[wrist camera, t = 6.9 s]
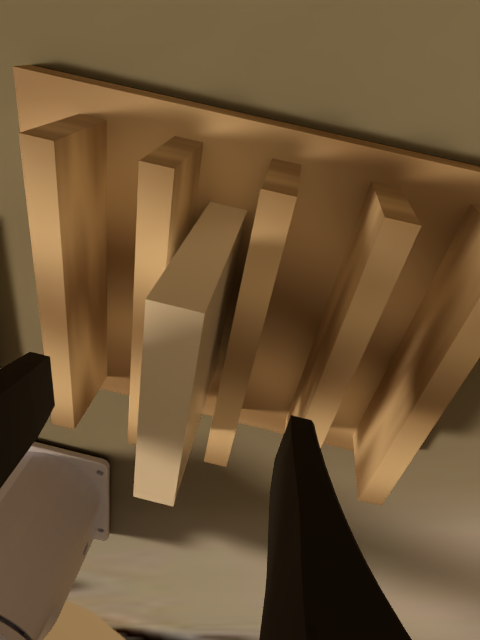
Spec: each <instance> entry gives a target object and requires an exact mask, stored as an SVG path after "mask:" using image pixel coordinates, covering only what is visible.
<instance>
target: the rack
mask: <svg viewBox="0 0 480 640" xmlns="http://www.w3.org/2000/svg"><path fill="white" fill-rule="evenodd" d="M13 71H14V80H15V89H16V98H17V107H18V115H19V124H20V133H19V140H20V149H21V158H22V166H23V175H24V184H25V192H26V201H27V210H28V218H29V227H30V236H31V244H32V253H33V262H34V270H35V279H36V288H37V296H38V305H39V314H40V322H41V331H42V340H43V348H44V355H45V356H49V357H50V361H51V371H52V381H53V391H54V401H55V406H54V408H53V410H52V412H51V418H52V424H55V425H59V426H63V427H67V428H71V429H75V427H76V426H77V424H78V423H79V421H80V419H81V418H82V416H83V415H84V413H85V411H86V410H87V408H88V407H89V405H90V403H91V402H92V400H93V399H94V397H95V395H96V394H97V392H98V391H99V389H104V390H108V391H112V392H116V393H120V394H124V395H129V421H128V443H131V444H136V443H137V427H138V411H139V395H140V379H141V363H142V346H143V330H144V314H145V299H146V298H147V296H148V295H149V293H150V292H151V290H152V289H153V287H154V286H155V284H156V283H157V281H158V280H159V278H160V277H161V275H162V273H163V272H164V270H165V269H166V267H167V266H168V264H169V263H170V261H171V260H172V258H173V257H174V255H175V254H176V252H177V251H178V249H179V248H180V246H181V245H182V243H183V242H184V240H185V239H186V237H187V236H188V234H189V233H190V231H191V230H192V228H193V227H194V225H195V224H196V222H197V221H198V219H199V218H200V216H201V215H202V213H203V212H204V210H205V209H206V207H207V206H208V204H209V203H210V202H214V203H218V204H222V205H226V206H231V207H235V208H239V209H243V210H247V215H246V220H245V225H244V230H243V235H242V240H241V245H240V250H239V255H238V260H237V265H236V270H235V275H234V280H233V285H232V290H231V295H230V300H229V305H228V310H227V315H226V320H225V325H224V330H223V335H222V340H221V345H220V350H219V355H218V360H217V365H216V370H215V374H214V377H213V380H212V384H211V387H210V390H209V393H208V397H207V400H206V403H205V406H204V409H203V413H202V414H206V415H210V416H213V420H212V425H211V429H210V434H209V439H208V444H207V448H206V453H205V458H204V462H208V463H212V464H216V465H220V466H224V467H226V466H227V462H228V459H229V455H230V451H231V447H232V443H233V440H234V436H235V432H236V428H237V424H238V423H243V424H247V425H251V426H255V427H259V428H263V429H267V430H271V431H275V432H279V433H283V434H284V433H285V430H286V427H287V425H288V422H289V419H290V416H291V415H293V416H297V417H301V418H305V419H309V420H312V421H313V423H314V425H315V430H316V434H317V438H318V442H319V445H320V449H321V446H322V444H323V443H324V444H328V445H332V446H336V447H340V448H344V449H348V450H352V451H354V456H355V468H356V479H357V491H358V500H361V501H365V502H369V503H373V504H377V505H382V504H383V502H384V501H385V499H386V498H387V496H388V495H389V493H390V492H391V490H392V489H393V487H394V486H395V484H396V483H397V481H398V480H399V478H400V477H401V475H402V474H403V472H404V471H405V469H406V468H407V466H408V465H409V463H410V462H411V460H412V459H413V457H414V456H415V454H416V453H417V451H418V450H419V448H420V447H421V445H422V444H423V442H424V441H425V439H426V438H427V436H428V435H429V433H430V431H431V430H432V428H433V427H434V425H435V424H436V422H437V421H438V419H439V418H440V416H441V415H442V413H443V412H444V410H445V409H446V407H447V406H448V404H449V403H450V401H451V400H452V398H453V397H454V395H455V394H456V392H457V391H458V389H459V388H460V386H461V385H462V383H463V382H464V380H465V379H466V377H467V376H468V374H469V373H470V371H471V370H472V368H473V367H474V365H475V364H476V362H477V361H478V359H479V358H480V166H475V165H471V164H466V163H462V162H457V161H453V160H449V159H444V158H440V157H435V156H431V155H427V154H422V153H418V152H413V151H409V150H404V149H400V148H396V147H391V146H387V145H382V144H378V143H373V142H369V141H365V140H360V139H356V138H351V137H347V136H343V135H338V134H334V133H329V132H325V131H320V130H316V129H312V128H307V127H303V126H298V125H294V124H289V123H285V122H281V121H276V120H272V119H267V118H263V117H259V116H254V115H250V114H245V113H241V112H236V111H232V110H228V109H223V108H219V107H214V106H210V105H205V104H201V103H197V102H192V101H188V100H183V99H179V98H174V97H170V96H166V95H161V94H157V93H152V92H148V91H144V90H139V89H135V88H130V87H126V86H121V85H117V84H113V83H108V82H104V81H99V80H95V79H90V78H86V77H82V76H77V75H73V74H68V73H64V72H60V71H55V70H51V69H46V68H42V67H37V66H33V65H23V66H13Z"/></svg>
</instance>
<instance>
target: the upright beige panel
mask: <svg viewBox="0 0 480 640" xmlns="http://www.w3.org/2000/svg"><path fill="white" fill-rule="evenodd" d="M246 215H247V210H243V209H239V208H235V207H231V206H226V205H222V204H218V203H214V202H210V203H209V204H208V206H207V207H206V209H205V210H204V212H203V213H202V215H201V216H200V218H199V219H198V221H197V222H196V224H195V225H194V227H193V228H192V230H191V231H190V233H189V234H188V236H187V237H186V239H185V240H184V242H183V243H182V245H181V246H180V248H179V249H178V251H177V252H176V254H175V255H174V257H173V258H172V260H171V261H170V263H169V264H168V266H167V267H166V269H165V270H164V272H163V273H162V275H161V277H160V278H159V280H158V281H157V283H156V284H155V286H154V287H153V289H152V290H151V292H150V293H149V295H148V296H147V298H146V299H145V314H144V330H143V346H142V363H141V379H140V395H139V411H138V427H137V443H136V459H135V475H134V491H133V497H137V498H141V499H145V500H149V501H153V502H157V503H161V504H165V505H169V506H174V503H175V500H176V497H177V493H178V490H179V487H180V484H181V481H182V477H183V474H184V471H185V468H186V464H187V461H188V458H189V455H190V451H191V448H192V445H193V442H194V439H195V435H196V432H197V429H198V426H199V422H200V419H201V416H202V413H203V409H204V406H205V403H206V400H207V397H208V393H209V390H210V387H211V384H212V380H213V377H214V374H215V370H216V365H217V360H218V355H219V350H220V345H221V340H222V335H223V330H224V325H225V320H226V315H227V310H228V305H229V300H230V295H231V290H232V285H233V280H234V275H235V270H236V265H237V260H238V255H239V250H240V245H241V240H242V235H243V230H244V225H245V220H246Z"/></svg>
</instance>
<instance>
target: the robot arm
mask: <svg viewBox="0 0 480 640" xmlns="http://www.w3.org/2000/svg"><path fill="white" fill-rule="evenodd" d="M54 406H55V401H54V391H53V381H52V371H51V361H50V357H49V356H45V355H41V354H37V353H33V352H29V353H27V354H25V355H24V356H22V357H20V358H18V359H17V360H15V361H13V362H12V363H10V364H8V365H7V366H5V367H3V368H1V369H0V640H43V639H44V638H45V636H46V635H47V634H48V633H49V632H50V630H51V629H52V627H53V626H54V624H55V622H56V621H57V619H58V617H59V614H60V612H61V610H62V608H63V606H64V603H65V601H66V599H67V597H68V594H69V592H70V590H71V588H72V586H73V583H74V581H75V579H76V577H77V574H78V572H79V570H80V568H81V566H82V563H83V561H84V559H85V557H86V554H87V552H88V550H89V548H90V546H91V543H92V541H93V539H97V540H102V541H105V540H107V539H108V537H109V476H110V465H109V463H108V462H107V461H106V460H105V459H102V458H98V457H94V456H90V455H86V454H82V453H78V452H74V451H70V450H66V449H62V448H58V447H54V446H50V445H46V444H42V443H38V442H34V441H35V440H36V439H37V437H38V436H39V434H40V432H41V430H42V429H43V427H44V425H45V423H46V422H47V420H48V418H49V416H50V414H51V412H52V410H53V408H54ZM259 640H412V639H411V638H410V636H409V635H408V633H407V632H406V630H405V629H404V627H403V625H402V624H401V622H400V620H399V619H398V617H397V615H396V614H395V612H394V610H393V609H392V607H391V605H390V604H389V602H388V600H387V599H386V597H385V595H384V594H383V592H382V590H381V588H380V587H379V585H378V583H377V581H376V579H375V578H374V576H373V574H372V572H371V570H370V568H369V566H368V565H367V563H366V561H365V559H364V557H363V555H362V553H361V551H360V549H359V547H358V545H357V542H356V540H355V538H354V536H353V534H352V532H351V530H350V527H349V525H348V523H347V520H346V518H345V516H344V513H343V511H342V509H341V506H340V504H339V501H338V499H337V496H336V493H335V491H334V488H333V485H332V482H331V480H330V477H329V474H328V471H327V468H326V465H325V462H324V459H323V455H322V452H321V449H320V445H319V442H318V438H317V434H316V430H315V425H314V423H313V421H312V420H309V419H305V418H301V417H297V416H293V415H291V416H290V419H289V422H288V425H287V427H286V430H285V433H284V436H283V438H282V441H281V444H280V447H279V449H278V452H277V455H276V458H275V462H274V469H273V475H272V482H271V489H270V503H269V529H268V557H267V578H266V591H265V599H264V607H263V615H262V624H261V631H260V639H259Z"/></svg>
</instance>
